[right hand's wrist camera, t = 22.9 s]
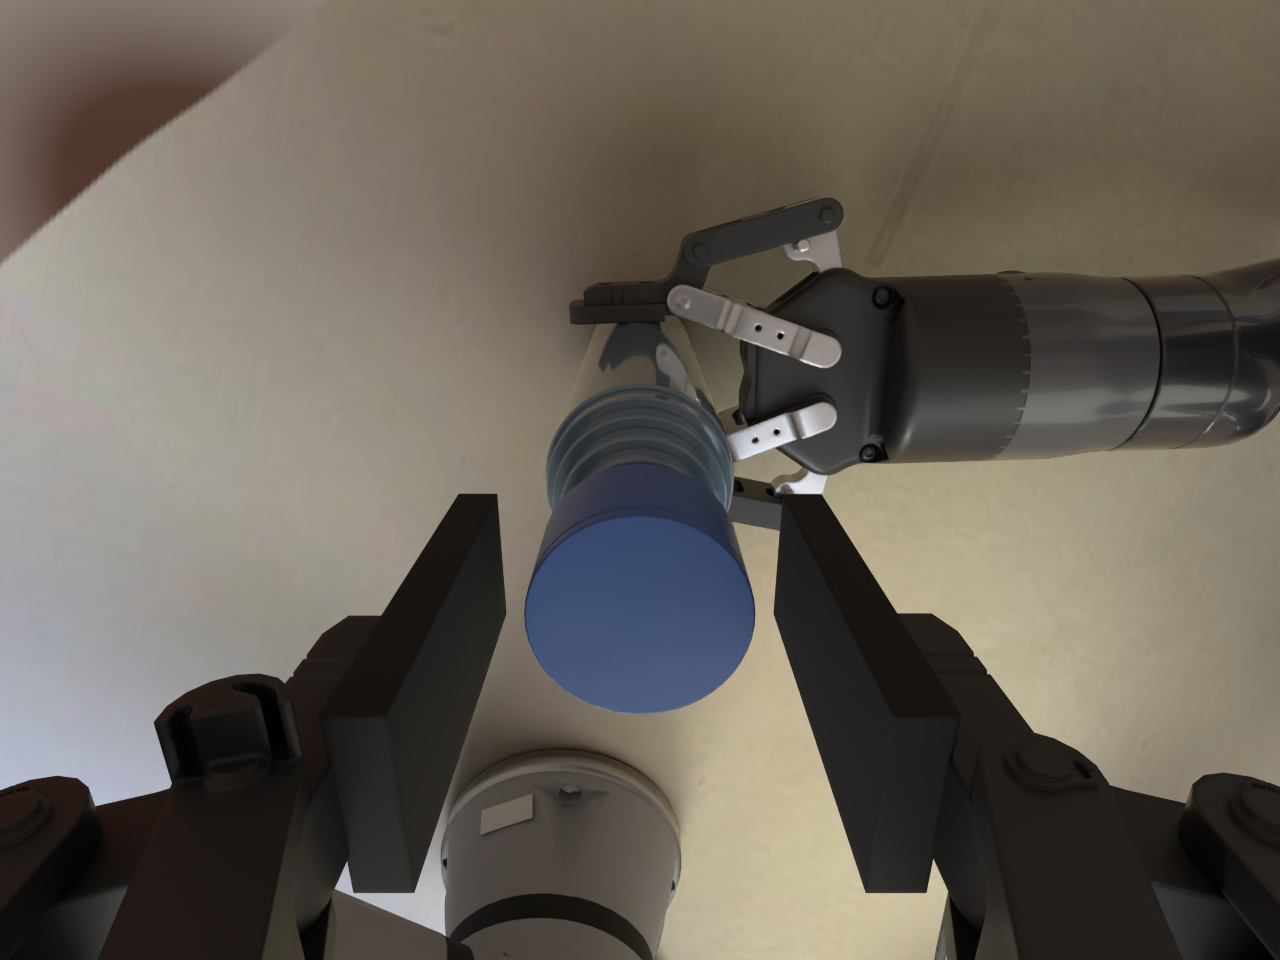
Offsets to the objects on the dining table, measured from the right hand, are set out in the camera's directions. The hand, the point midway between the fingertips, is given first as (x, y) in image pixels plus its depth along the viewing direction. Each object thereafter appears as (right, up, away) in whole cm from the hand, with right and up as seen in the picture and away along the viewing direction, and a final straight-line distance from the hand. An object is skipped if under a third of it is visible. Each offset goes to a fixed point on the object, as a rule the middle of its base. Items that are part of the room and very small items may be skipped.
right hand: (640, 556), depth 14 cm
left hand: (-3, +6, +15) cm, 16 cm away
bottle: (0, +8, +21) cm, 23 cm away
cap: (0, -1, -2) cm, 2 cm away
